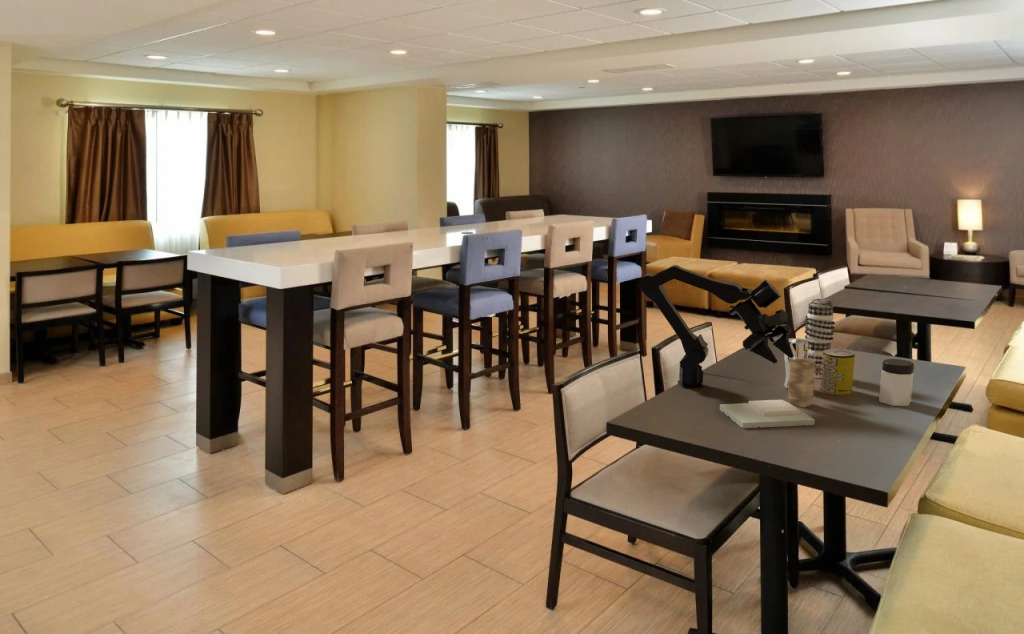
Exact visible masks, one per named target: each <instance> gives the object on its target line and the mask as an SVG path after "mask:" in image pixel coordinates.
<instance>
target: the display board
mask: <svg viewBox="0 0 1024 634" xmlns="http://www.w3.org/2000/svg"><path fill="white" fill-rule="evenodd" d="M719 410H720V411H721V412H722V413H723V412H724V413H723V414H725V415H726V416H727V417H728V416H729V417H730V418H729V417H728V418H729V419H731V421H733V422H734V423H735V422H736V423H735V424H737V425H738V426H739V427H740V428H741V427H742V428H741V429H754V428H758V427H760V428H775V427H776V428H777V427H796V426H797V427H799V426H803V425H804V426H815V420H816V419H814V418H813V417H812V416H810V415H808V414H807V413H805V412H804V411H803V410H801V409H800V408H798V407H797V406H795V405H792V404H790V403H789V402H788V401H785V400H784V399H764V400H748V402H746V403H745V402H743V403H722V404H721V403H720V404H719Z"/></svg>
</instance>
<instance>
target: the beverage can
mask: <svg viewBox="0 0 1024 634" xmlns="http://www.w3.org/2000/svg"><path fill="white" fill-rule="evenodd" d="M855 358H856V354H855V352H854V351H850V350H846V349H837V348H836V349H835V348H834V349H833V348H830V349H829V350H824V351H823V357H822V370H821V378H820V384H819V390H820V392H822V393H825V394H828V393H830V394H829V395H833V394H838V395H837V396H846V394H848V395H851V394H852V392H853V381H854V370H855V369H854V368H855Z"/></svg>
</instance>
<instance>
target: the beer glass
mask: <svg viewBox="0 0 1024 634" xmlns="http://www.w3.org/2000/svg"><path fill="white" fill-rule="evenodd" d="M788 340H789V343H790V346H791V349H792V352H793V355H794V357H792V358H790V357H788V356H787V355H786V354H784V353H783V356H784V358H783V359H784V368H785V377H784V378H785V380H784V382H783V388H785V389H787V390H789V376H790V361H791V360H793V359H796V358H799V357H800V358H805V359H808V340H805V338H797V337H795V338H793V337H791V338H788Z"/></svg>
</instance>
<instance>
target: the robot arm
mask: <svg viewBox="0 0 1024 634" xmlns="http://www.w3.org/2000/svg"><path fill="white" fill-rule="evenodd" d="M673 280H677V281H679V282H681V283H684V284H687V285H690V286H692V287H695V288H698V289H701V290H703V291H706V292H709V293H710V294H712V295H714V296H715V297H717V298H718V299H719V300H722V301H724V302H725V303H727V304H731V305H729V311H728V315H731V316H734V315H736V314H737V315H738V316H739V318H740V320H741V321H742V323H744V325H745V326H744V329H745V331H746V330H749V332H750V334H749V335H748V336H747V337H746V338H745V339H744V340H742V347H743V349H744V350H745V351H749V352H750V353H754V355H755V354H756V355H758V356H760V357H761V358H763V359H765V360H767V361H769V362H771V363H773V364H775V365H776V364H777V362H778V360H777V358H776V356H775V354H774V353H773V351H772V349H771V348H770V346H769V341H770V342H772V345H773V347H775V348H777V349H778V350H780V352H782V353H783V355H784V354H786V355H787V356H788V357H790V358H792V357H794V355H793V352H792V349H791V346H790V343H789V340H788V339H789V337H790V334H791V331H792V328H791V326H789V324H786V323H787V322H788V317H789V314H788V313H787V312H786V311H785V310H784V309H778V310H775V313H774V314H772V315H768V314H766V313H762V312H761V310H760V309H762V308H764V309H767V308H768V307H769V306H771V305H773V303H775V302H776V301H778V300H779V299H780V298H781V297H782V296H781V294H780V293H779V291H778V290H777V288H776V287H775V286H773V284H771V283H770V282H769V281H768V280H767V279H764V280H763V281H762V282H761V283H760V284H759V285H758V286H756V287H755V288H754V289H750V288H746V287H743V286H741V284H739V283H738V282H736V281H735V282H734V281H729V280H721V279H715V278H712V277H709V276H706V275H703V274H701V273H698V272H696V271H692V270H689V269H687V268H683V267H682V266H680V265H678V264H673V265H671V266H669V267H668V268H666V269H663V270H660V271H659V272H656V273H654V272H650V273H647V274H645V275H643V276H642V277H641V278H640V279H639V282H638V288H639V290H640V291H641V292H642V293H643V295H644V296H645V297H647V298H648V299H649V300H650V301H651V302H652V303H654V304H655V305H656V307H657V308H658V309H659V311H660V312H661V314H662V316H664V318H665V320H666V321H667V322H668V324H669V325H670V327H671V329H672V330H673V331H674V332H675V334H676V336H677V337H678V339H679V340H680V342H681V345H682V349H683V352H684V353H685V354H684V355H683V357H681V359H680V361H679V372H678V374H679V375H678V377H679V378H678V380H677V381H676V383H678V384H679V385H680V386H681V387H682V388H703V387H704V370H703V366H702V365H701V364H702V363H703V362H704V361H705V360H706V359H707V357H708V355H709V347H708V345H709V343H708V342H706V341H705V339H704V337H703V336H702V335H703V334H701V333H700V334H698V335H696V334H695V333H693V331H692V330H691V329H690V327H689V326H688V324H687V323H686V322H685V320H684V319H683V317H682V316H681V314H680V313H679V312H678V310H677V309H676V307H675V306H674V304H673V303H672V300H671V299H669V297H668V296H667V293H666V289H665V286H664V284H666V283H669V282H670V281H673ZM743 300H745V301H743ZM733 304H735V305H733ZM757 306H758V307H757ZM759 308H760V309H759Z"/></svg>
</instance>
